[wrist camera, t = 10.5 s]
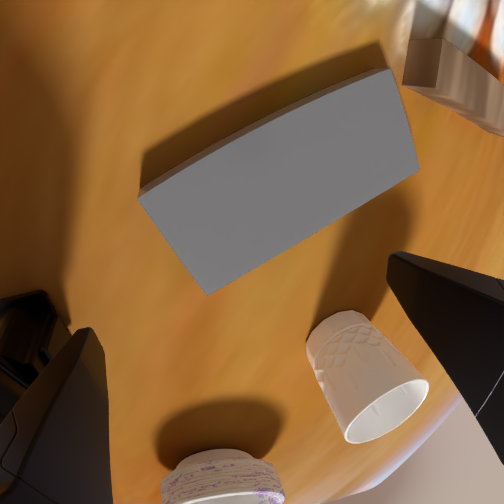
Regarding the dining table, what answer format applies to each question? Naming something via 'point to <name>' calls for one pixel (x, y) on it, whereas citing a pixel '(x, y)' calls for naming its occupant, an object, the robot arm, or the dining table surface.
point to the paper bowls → (222, 480)
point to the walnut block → (455, 82)
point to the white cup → (363, 376)
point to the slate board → (283, 178)
